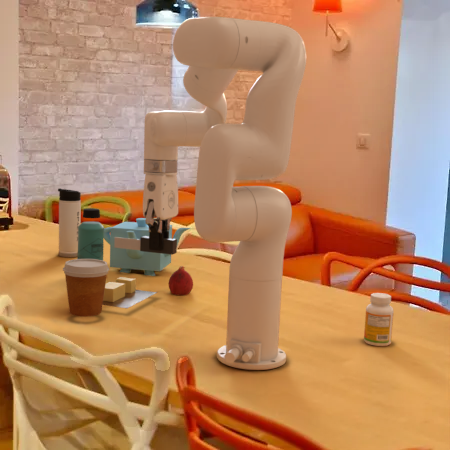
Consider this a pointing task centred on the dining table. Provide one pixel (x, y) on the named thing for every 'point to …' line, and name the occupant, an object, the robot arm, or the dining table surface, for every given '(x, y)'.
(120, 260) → the teakettle
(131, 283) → the butter slice
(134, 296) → the board
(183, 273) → the onion
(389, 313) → the supplement bottle
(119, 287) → the butter
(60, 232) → the travel mug
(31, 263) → the dining table surface
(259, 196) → the robot arm
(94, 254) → the beverage bottle
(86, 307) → the disposable coffee cup
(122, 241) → the knife
